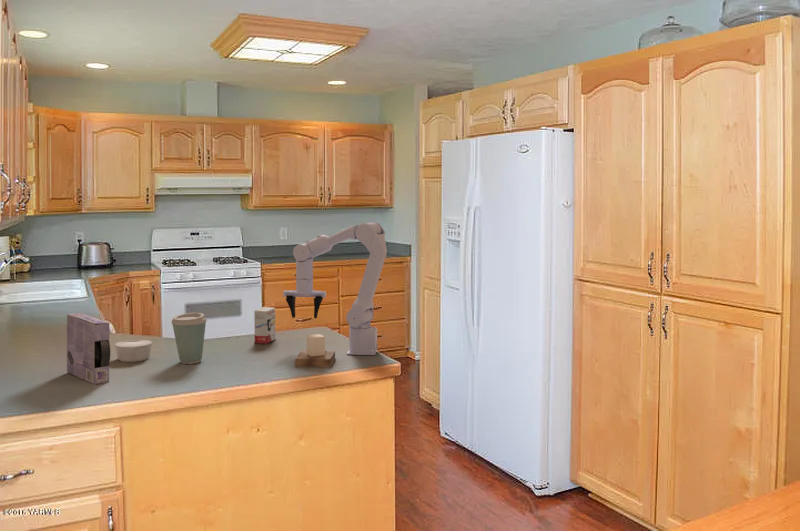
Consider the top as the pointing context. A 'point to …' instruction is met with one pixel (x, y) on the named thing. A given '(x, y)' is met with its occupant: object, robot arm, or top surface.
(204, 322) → the disposable coffee cup
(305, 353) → the walnut block
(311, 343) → the cream block
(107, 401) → the top surface
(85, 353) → the cake pan box
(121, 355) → the ramekin
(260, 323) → the ink box
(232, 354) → the top surface
